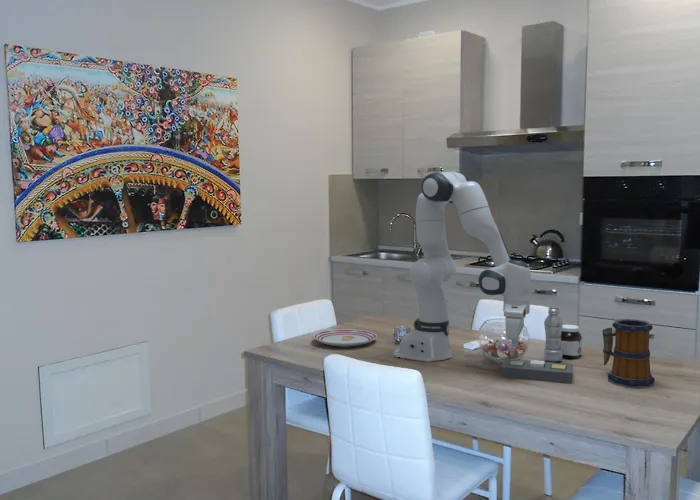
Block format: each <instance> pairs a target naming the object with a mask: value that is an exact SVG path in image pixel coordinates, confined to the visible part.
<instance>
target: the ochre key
mask: <svg viewBox="0 0 700 500" xmlns="http://www.w3.org/2000/svg"><path fill="white" fill-rule="evenodd" d="M552 369H559V370H566V365H557V364H552Z"/></svg>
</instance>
